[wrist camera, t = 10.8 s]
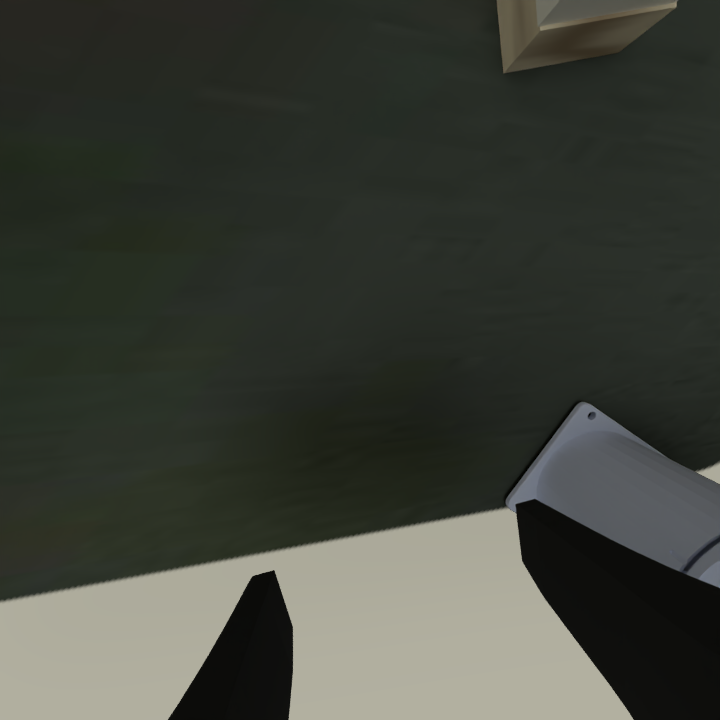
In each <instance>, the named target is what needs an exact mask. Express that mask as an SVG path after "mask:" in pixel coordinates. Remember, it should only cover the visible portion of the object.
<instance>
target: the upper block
mask: <svg viewBox="0 0 720 720" xmlns="http://www.w3.org/2000/svg"><path fill="white" fill-rule="evenodd" d="M676 1H678V0H536V11H537V24H538V27H540V26H545V25H551V24H557V23H563V22H569V21H574V20H580V19H586V18H592V17H597V16H603V15H609V14H615V13H620V12H626V11H632V10H638V9H643V8H649V7H655V6H661V5H666V4H672V3H675V2H676Z"/></svg>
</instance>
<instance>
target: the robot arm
mask: <svg viewBox="0 0 720 720" xmlns="http://www.w3.org/2000/svg"><path fill="white" fill-rule="evenodd" d="M590 412H591V415H590V416H589V417H588V414H589V413H590ZM506 505H507V507H508V508H509V509H510V510H512V511H513V512H515V513H516V514H517V522H518V529H519V538H520V546H521V555H522V561H523V563H524V565H525V567H526V568H527V570H528V572H529V573H530V575H531V576H532V578H533V580H534V582H535V583H536V585H537V587H538V588H539V590H540V592H541V593H542V595H543V596H544V598H545V599H546V601H547V602H548V603H549V605H550V606H551V607H552V609H553V610H554V611H555V613H556V614H557V615H558V617H559V618H560V619H561V621H562V622H563V623H564V625H565V626H566V627H567V629H568V630H569V631H570V633H571V634H572V635H573V637H574V638H575V639H576V641H577V642H578V643H579V645H580V646H581V647H582V648H583V650H584V651H585V653H586V654H587V655H588V657H589V658H590V659H591V661H592V662H593V663H594V665H595V666H596V667H597V669H598V670H599V671H600V673H601V674H602V675H603V676H604V678H605V679H606V680H607V682H608V683H609V684H610V686H611V687H612V689H613V690H614V691H615V693H616V694H617V696H618V697H619V698H620V700H621V701H622V703H623V704H624V705H625V707H626V708H627V710H628V711H629V713H630V714H631V716H632V717H633V719H634V720H720V484H718V483H716V482H714V481H712V480H710V479H708V478H706V477H704V476H702V475H700V474H698V473H696V472H694V471H692V470H690V469H688V468H686V467H684V466H682V465H680V464H678V463H676V462H674V461H672V460H670V459H669V458H667V457H666V456H664V455H663V454H661V453H660V452H658V451H657V450H656V449H654V448H653V447H651V446H650V445H648V444H647V443H645V442H644V441H643V440H641V439H640V438H638V437H637V436H635V435H634V434H632V433H631V432H630V431H628V430H627V429H625V428H624V427H622V426H621V425H619V424H618V423H617V422H615V421H614V420H612V419H611V418H609V417H608V416H606V415H605V414H604V413H602V412H601V411H599V410H598V409H596V408H595V407H593V406H592V405H590V404H588V403H586V402H580V403H578V404H577V405H576V406H575V408H574V409H573V410H572V412H571V413H570V414H569V416H568V417H567V418H566V420H565V421H564V422H563V424H562V425H561V426H560V428H559V429H558V430H557V432H556V433H555V434H554V436H553V437H552V438H551V440H550V441H549V442H548V444H547V445H546V446H545V448H544V449H543V450H542V452H541V453H540V454H539V456H538V457H537V458H536V460H535V461H534V462H533V464H532V465H531V466H530V468H529V469H528V470H527V472H526V473H525V474H524V475H523V477H522V478H521V479H520V481H519V482H518V483H517V485H516V486H515V487H514V489H513V490H512V491H511V493H510V494H509V495H508V497H507V498H506ZM292 675H293V626H292V623H291V620H290V617H289V614H288V611H287V608H286V605H285V602H284V599H283V596H282V593H281V589H280V586H279V583H278V581H277V577H276V574H275V571H274V570H273V571H270V572H266V573H262V574H259V575H255V576H253V577H252V578H251V580H250V581H249V583H248V585H247V587H246V589H245V590H244V592H243V595H242V596H241V598H240V600H239V602H238V603H237V605H236V607H235V609H234V611H233V613H232V614H231V616H230V618H229V620H228V622H227V624H226V626H225V627H224V629H223V631H222V632H221V634H220V636H219V638H218V639H217V641H216V643H215V645H214V646H213V648H212V650H211V652H210V654H209V656H208V657H207V659H206V660H205V662H204V664H203V665H202V667H201V668H200V670H199V672H198V673H197V675H196V677H195V678H194V680H193V681H192V683H191V685H190V686H189V688H188V689H187V691H186V693H185V694H184V696H183V698H182V699H181V701H180V703H179V704H178V705H177V707H176V708H175V710H174V711H173V713H172V714H171V716H170V717H169V719H168V720H288V718H289V708H290V698H291V687H292Z"/></svg>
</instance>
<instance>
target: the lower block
mask: <svg viewBox="0 0 720 720" xmlns="http://www.w3.org/2000/svg"><path fill="white" fill-rule="evenodd" d="M675 8H676V2H675V3H672V4H666V5H661V6H655V7H649V8H643V9H638V10H632V11H626V12H620V13H615V14H609V15H603V16H597V17H592V18H586V19H580V20H574V21H569V22H563V23H557V24H551V25H545V26H540V27H538V24H537V11H536V0H497V9H498V20H499V30H500V41H501V51H502V62H503V72H504V73H509V72H514V71H520V70H525V69H531V68H536V67H542V66H548V65H553V64H559V63H564V62H570V61H575V60H581V59H586V58H592V57H598V56H603V55H609V54H614V53H618V52H620V51H621V50H622V49H624V48H625V47H626V46H627V45H629V44H630V43H631V42H633V41H634V40H635V39H636V38H638V37H639V36H640V35H641V34H643V33H644V32H645V31H647V30H648V29H649V28H650V27H652V26H653V25H654V24H655V23H657V22H658V21H659V20H661V19H662V18H663V17H664V16H666V15H667V14H668V13H669V12H671V11H672V10H673V9H675Z"/></svg>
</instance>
